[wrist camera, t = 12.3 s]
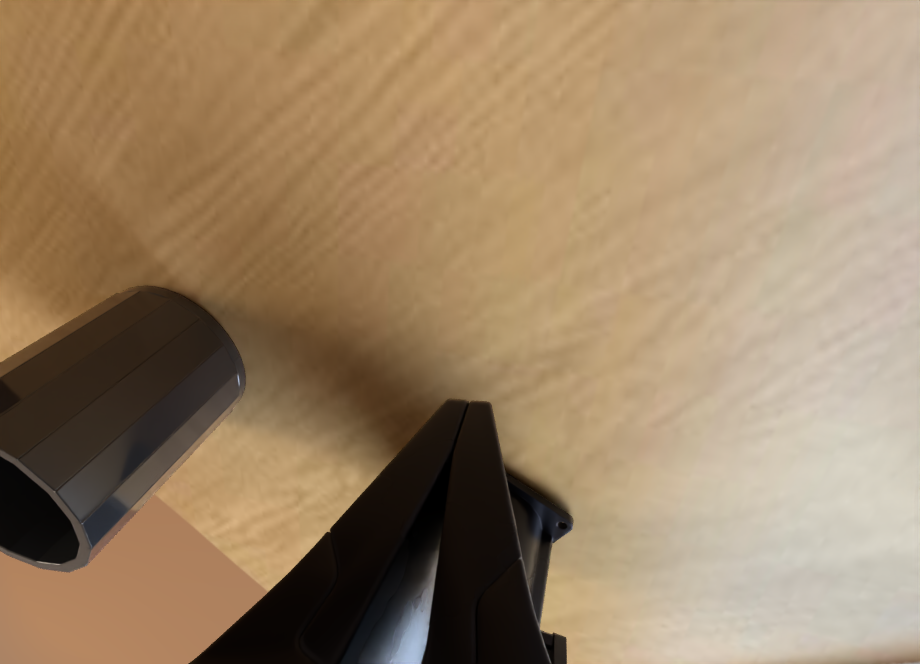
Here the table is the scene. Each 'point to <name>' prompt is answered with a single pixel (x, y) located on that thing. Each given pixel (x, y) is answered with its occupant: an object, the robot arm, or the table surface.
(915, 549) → the table surface
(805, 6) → the table surface
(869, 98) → the table surface
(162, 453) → the pen cup
